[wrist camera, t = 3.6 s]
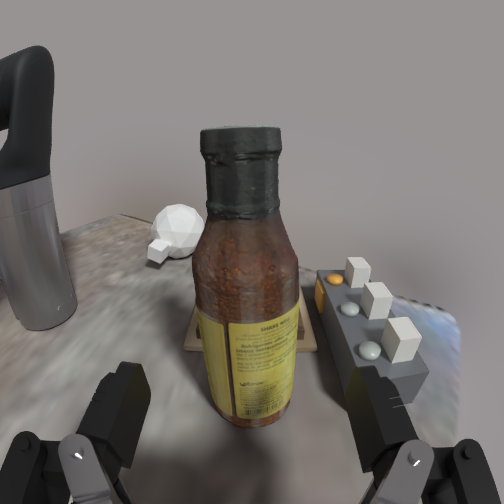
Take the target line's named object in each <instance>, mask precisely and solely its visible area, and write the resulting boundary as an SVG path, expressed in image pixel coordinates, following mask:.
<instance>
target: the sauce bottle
mask: <svg viewBox="0 0 504 504" xmlns="http://www.w3.org/2000/svg"><path fill="white" fill-rule="evenodd" d="M200 148H201V149H200V152H201V154H202V156H203V158H204V160H205V167H206V184H207V201H206V207H207V213H208V216H207V220H206V224H205V228H204V230H203V232H202V234H201V236H200V239H199V241H198V243H197V246H196V248H195V250H194V252H193V255H192V272H193V278H194V283H195V292H196V298H195V304H196V310H197V317H198V323H199V330H200V336H201V342H202V347H203V353H204V358H205V363H206V369H207V374H208V379H209V384H210V389H211V393H212V397H213V400H214V402H215V405H216V409H217V410H218V411H219V413H220V414H221V415H222V416H223V417H224V418H226V419H227V420H228V421H230V422H232V423H234V424H235V425H238V426H240V427H245V428H256V427H263V426H267V425H269V424H272V423H274V422H275V421H277V420H278V419H279V418H280V417H281V416H282V415H283V414H284V413H285V411H286V409H287V408H288V406H289V403H290V397H291V394H292V388H293V379H294V368H295V354H296V342H297V329H298V315H299V297H300V286H299V271H298V258H297V256H296V255H295V252H294V250H293V248H292V246H291V243H290V241H289V238H288V235H287V233H286V230H285V227H284V225H283V222H282V219H281V215H280V211H279V206H280V199H279V197H278V182H279V180H278V158H279V156H280V153H281V151H282V142H281V131H280V128H279V127H276V126H263V125H262V126H256V125H248V126H224V127H217V128H209V129H203V130H201V132H200Z"/></svg>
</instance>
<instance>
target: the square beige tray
mask: <svg viewBox="0 0 504 504" xmlns="http://www.w3.org/2000/svg"><path fill="white" fill-rule="evenodd" d="M299 286H300V283H299ZM183 348H184V350H187V351H203V347H202V342H201V336H200V330H199V323H198V317H197V310H196V305H195V308H194V311H193V315H192V318H191V321H190V325H189V328H188V331H187V335H186V338H185V341H184V345H183ZM316 351H317V344H316V340H315V337H314V333H313V329H312V325H311V322H310V318H309V315H308V311H307V307H306V304H305V300H304V297H303V293H302V290H301V286H300V297H299V315H298V329H297V342H296V352H316Z"/></svg>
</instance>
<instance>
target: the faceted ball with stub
mask: <svg viewBox="0 0 504 504" xmlns="http://www.w3.org/2000/svg"><path fill="white" fill-rule="evenodd" d="M203 230H204V222H203V220H202V218H201V217H200V216H199V214H198V213H197V212H196V210H195V209H194V208H191V207H188V206H185V205H183V204H177V205H171V206H167V207H166V208H164V210H162V211H161V212H160V213H159V214H158V215H157V216H156V218H155V221H154V223H153V225H152V228H151V232H152V237H153V242H152V243H151V244H150V245H149V246H148V258H149V259H151V260H153V261H155V262H157V263H159V264H161V263H162V262H163V261H164V259H165V258H166V257H167V256H170V257H173V258H175V259H177V258H182V257H186V256H188V255H190V254H191V253H193V252H194V250H195V248H196V246H197V243H198V241H199V239H200V236H201V234H202V232H203Z"/></svg>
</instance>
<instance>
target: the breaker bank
mask: <svg viewBox="0 0 504 504" xmlns="http://www.w3.org/2000/svg"><path fill="white" fill-rule="evenodd" d="M370 271H371V267H370V266H369V265H368V263H367V262H366V261H365V260H364V258H363V257H356V258H355V257H353V258H351V257H347V262H346V269H345V270H317V277H316V286H315V293H314V300H315V303H316V306H317V309H318V312H319V315H320V318H321V321H322V324H323V327H324V330H325V333H326V337H327V340H328V343H329V346H330V349H331V352H332V356H333V359H334V362H335V365H336V369H337V372H338V375H339V379H340V382H341V386H342V389H343V392H344V396H345V392H346V389H347V386H348V384H349V381H350V378H351V375H352V372H353V369H354V368H355V367H360V366H369V365H374V366H375V367H376V368H377V370H378V373H379V375H380V377H385V376H387V377H388V378H389V379H390V380H391V381H392V382H393V383H394V384H395V386H396V388H397V390H398V392H399V394H400V398H401V399H402V401H403V403H404V404H407V403H412V402H413V400H414V398H415V396H416V395H417V393H418V391H419V390H420V388H421V386H422V384H423V382H424V381H425V379H426V377H427V375H428V373H429V370H428V368H427V366H426V364H425V363H424V361H423V359H422V358H421V356H420V355H419V353H418V351H417V348H418V346H419V343H420V341H421V338H422V337H421V335H420V334H419V332H418V331H417V329H416V328H415V326H414V325H413V323H412V322H411V321H410V319H409V318H408V317H399V318H396V317H395V315H394V314H393V312H392V311H391V309H390V307H391V303H392V300H393V296H392V294H391V293H390V292H389V290H388V289H387V288H386V286H385V285H384V284H383V283H382V282H376V283H374V282H373V283H372V282H371V280H370V279H369V277H370Z"/></svg>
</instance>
